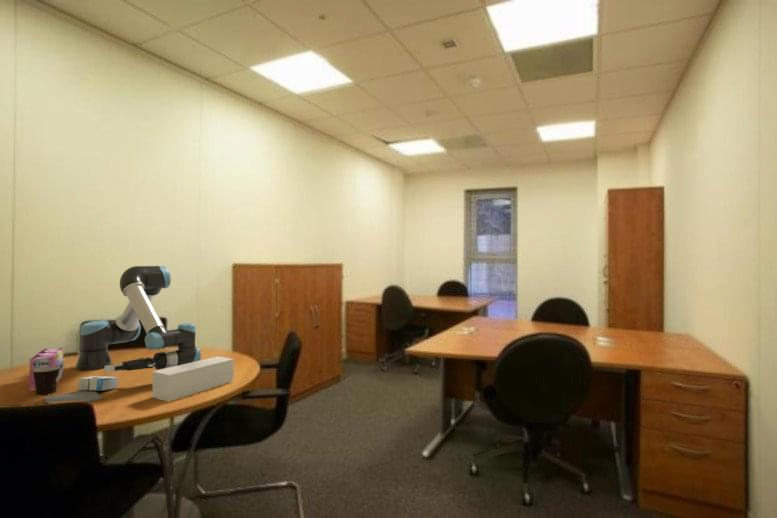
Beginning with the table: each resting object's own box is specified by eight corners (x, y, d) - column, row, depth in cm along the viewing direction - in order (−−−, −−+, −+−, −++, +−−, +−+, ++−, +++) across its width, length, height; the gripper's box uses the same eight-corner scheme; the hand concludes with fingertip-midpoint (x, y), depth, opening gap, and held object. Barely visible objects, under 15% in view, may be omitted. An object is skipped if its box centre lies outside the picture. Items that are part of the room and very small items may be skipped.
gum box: (43, 376, 200) (44, 348, 200) (64, 375, 203) (64, 346, 203) (28, 391, 178) (28, 359, 178) (51, 388, 182) (52, 357, 182)
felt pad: (44, 399, 168) (44, 397, 168) (92, 390, 179) (92, 389, 179) (52, 409, 157) (52, 407, 157) (102, 399, 169) (102, 397, 169)
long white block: (168, 402, 167) (169, 375, 167) (152, 397, 172) (152, 371, 172) (233, 382, 195) (233, 358, 195) (217, 378, 200) (218, 356, 200)
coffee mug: (42, 390, 179) (43, 366, 179) (64, 389, 180) (64, 366, 180) (21, 399, 168) (21, 374, 168) (44, 398, 168) (44, 373, 168)
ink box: (103, 379, 176) (78, 377, 178) (101, 391, 175) (76, 390, 177) (118, 376, 184) (94, 375, 186) (117, 388, 184) (93, 386, 185)
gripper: (170, 370, 189) (109, 381, 172) (159, 365, 198) (100, 375, 180) (170, 354, 189) (109, 363, 172) (159, 349, 198) (100, 357, 180)
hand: (104, 369), depth 176 cm, fingers closed
